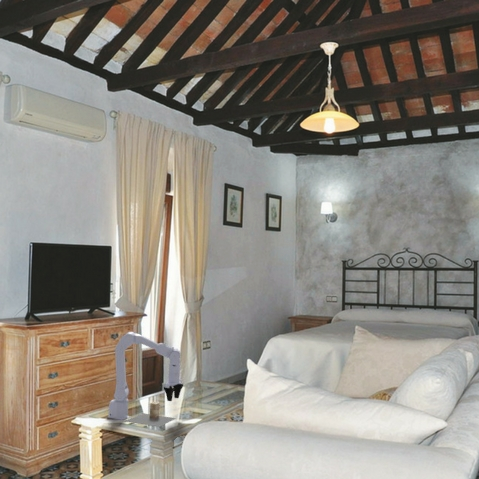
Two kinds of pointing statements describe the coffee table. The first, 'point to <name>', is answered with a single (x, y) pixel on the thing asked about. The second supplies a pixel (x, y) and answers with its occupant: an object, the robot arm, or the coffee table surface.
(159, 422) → the mat
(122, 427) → the coffee table surface
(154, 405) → the maple block
